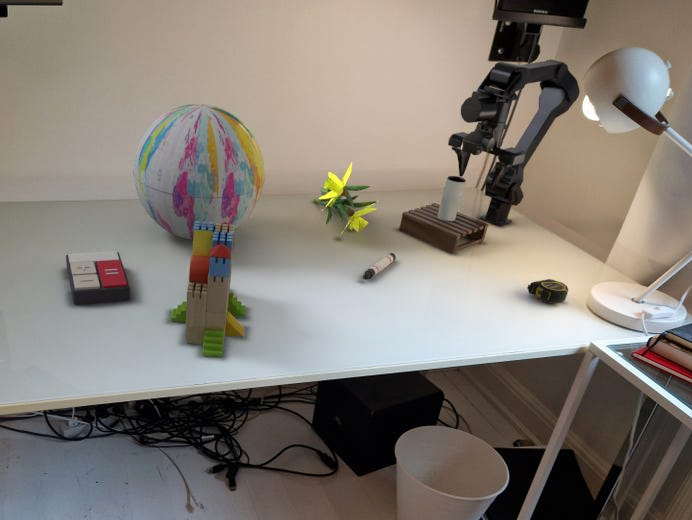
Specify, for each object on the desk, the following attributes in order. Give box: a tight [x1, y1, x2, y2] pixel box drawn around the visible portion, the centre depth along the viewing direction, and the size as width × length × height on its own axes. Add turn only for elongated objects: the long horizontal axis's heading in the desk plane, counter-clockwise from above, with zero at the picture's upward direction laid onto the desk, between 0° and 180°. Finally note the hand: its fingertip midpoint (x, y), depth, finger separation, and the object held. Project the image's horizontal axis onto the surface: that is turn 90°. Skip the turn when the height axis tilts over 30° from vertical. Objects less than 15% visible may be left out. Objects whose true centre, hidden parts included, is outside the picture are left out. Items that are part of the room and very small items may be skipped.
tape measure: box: [526, 278, 569, 304], centre depth 143 cm, size 7×7×4 cm
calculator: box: [65, 250, 131, 305], centre depth 132 cm, size 11×4×15 cm
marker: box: [362, 252, 397, 280], centre depth 148 cm, size 15×2×2 cm, turn 145°
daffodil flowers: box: [313, 162, 378, 235], centre depth 167 cm, size 17×15×35 cm
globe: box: [132, 103, 265, 241], centre depth 149 cm, size 30×30×30 cm
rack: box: [398, 202, 490, 255], centre depth 168 cm, size 14×17×5 cm
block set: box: [170, 221, 247, 358], centre depth 121 cm, size 28×14×19 cm, turn 178°
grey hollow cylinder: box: [437, 175, 467, 221], centre depth 163 cm, size 4×4×10 cm
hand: (476, 181), depth 167 cm, fingers open, 9 cm apart
